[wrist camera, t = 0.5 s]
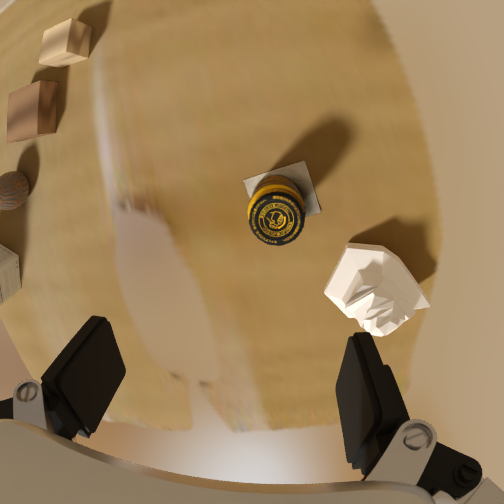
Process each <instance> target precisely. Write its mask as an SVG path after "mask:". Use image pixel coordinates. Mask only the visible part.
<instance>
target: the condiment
mask: <svg viewBox="0 0 504 504" xmlns="http://www.w3.org/2000/svg"><path fill="white" fill-rule="evenodd" d="M291 179H293V180H291ZM294 180H296V181H294ZM243 181H244V184H245V186H246V189H247V192H248V194H249V197H250V202H249V205H248V218H249V224H250V227H251V230H252V231H253V233H254V234H255V235H256V236H257V238H258V239H260V240H261V241H263V242H264V243H266V244H269V245H277V246H281V245H284V244H287V243H290V242H292V241H293V240H295V239H296V238H297V237H298V236H299V234H300V232H301V231H302V228H303V227H304V222H305V221H304V220H305V217H307V216H310V215H314V214H317V213H320V212H321V211H320V208H319V204H318V201H317V198H316V194H315V191H314V188H313V185H312V182H311V178H310V175H309V172H308V169H307V166H306V163H305V161H301V162H298V163H295V164H292V165H288V166H285V167H282V168H279V169H276V170H272V171H269V172H266V173H263V174H260V175H257V176H254V177H251V178H248V179H246V180H243Z"/></svg>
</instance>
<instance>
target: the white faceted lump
mask: <svg viewBox="0 0 504 504" xmlns="http://www.w3.org/2000/svg"><path fill="white" fill-rule="evenodd" d="M324 293H325V294H326V295H327V296H328V297H329V298H330V299H331V300H332V301H333V302H334V303H335V304H336V305H337V306H338V307H339V308H340V309H341V311H342V312H343V313H344V314H345V315H346V316H347V317H348V318H356V319H357V320H358V322H359V324H360V326H361V328H364V329H365V330H366V331H367V332H370V333H371V335H375V336H381V337H382V336H383V335H388V334H389V333H391V332H392V331H393V330H395V329H396V328H398V327H399V326H400V325H401V324H402V323H403V322H404V321H406V320H408V319H409V318H411V317H412V316H413V315H414V314H415V310H414V309H421V308H427V307H431V306H430V302H429V299H428V298H427V296H426V295H425V293H424V292H423V290H422V289H421V287H420V286H419V285H418V283H417V282H416V280H415V279H414V277H413V276H412V275H411V273H410V272H409V270H408V269H407V268H406V266H405V265H404V263H403V262H402V261H401V259H400V258H399V257H398V256H396V255H395V254H394V253H392V252H391V251H389V250H388V249H386V248H385V247H384V246H380V245H370V244H359V243H347V245H346V247H345V249H344V251H343V253H342V255H341V257H340V259H339V261H338V263H337V265H336V267H335V269H334V271H333V273H332V275H331V277H330V278H329V280H328V282H327V284H326V286H325V291H324Z"/></svg>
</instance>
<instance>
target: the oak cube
mask: <svg viewBox="0 0 504 504" xmlns="http://www.w3.org/2000/svg"><path fill="white" fill-rule="evenodd" d="M91 33H92V27H90V26H88V25H86V24H84V23H82V22H80V21H77V20H75V19H73V18H71V19H69V20H66V21H64V22H62V23H60V24H58V25H56V26H54V27H52V28H50V29H48V30H46V31H44V35H43V40H42V46H41V52H40V59H39V64H43V65H49V66H54V67H59V68H62V67H65V66H68V65H70V64H73V63H76V62H79V61H82V60H84V59H87V58H88V55H89V47H90V40H91Z"/></svg>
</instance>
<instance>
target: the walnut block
mask: <svg viewBox="0 0 504 504" xmlns="http://www.w3.org/2000/svg"><path fill="white" fill-rule="evenodd" d="M58 83H59V82H52V81H44V80H39V81H37V82H34V83H32V84H30V85H27V86H25V87H23V88H21V89H19V90H16V91H14V92H12V93H10V94H9V100H8V115H7V143H12V142H18V141H24V140H28V139H32V138H36V137H40V136H44V135H48V134H52V133H56V109H57V94H58Z"/></svg>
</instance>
